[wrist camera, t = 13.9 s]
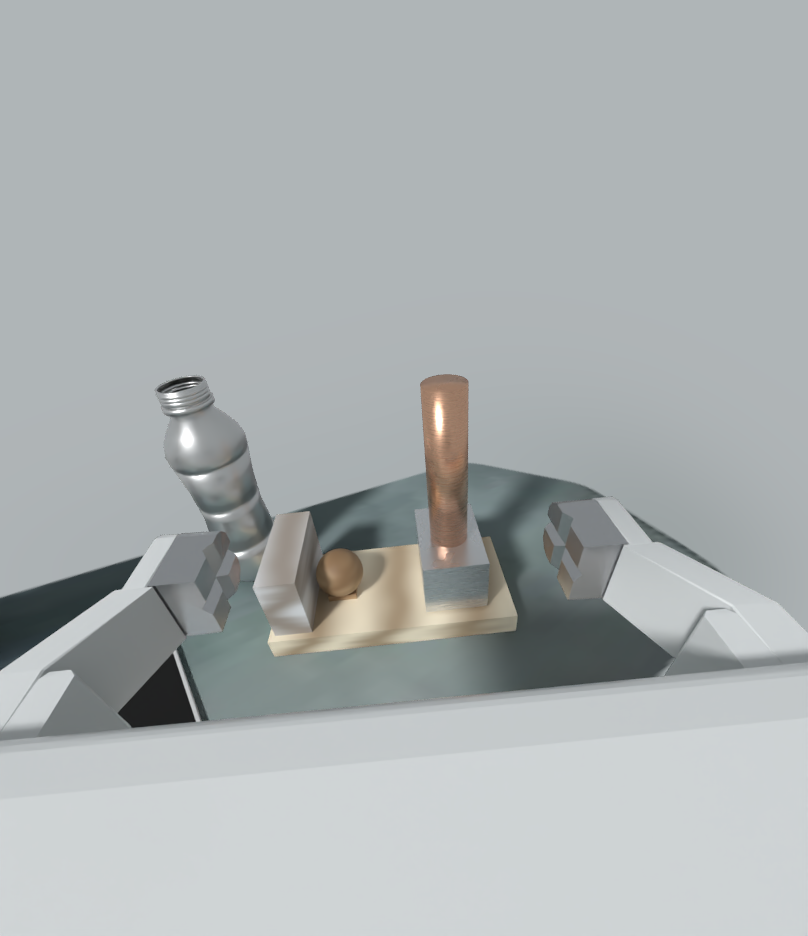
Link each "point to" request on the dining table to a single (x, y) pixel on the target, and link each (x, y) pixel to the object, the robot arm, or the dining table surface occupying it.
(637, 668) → the dining table surface
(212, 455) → the plastic bottle
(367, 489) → the dining table surface
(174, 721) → the smartphone
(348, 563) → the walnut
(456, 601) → the copper post with base
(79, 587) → the dining table surface
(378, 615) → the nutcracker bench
